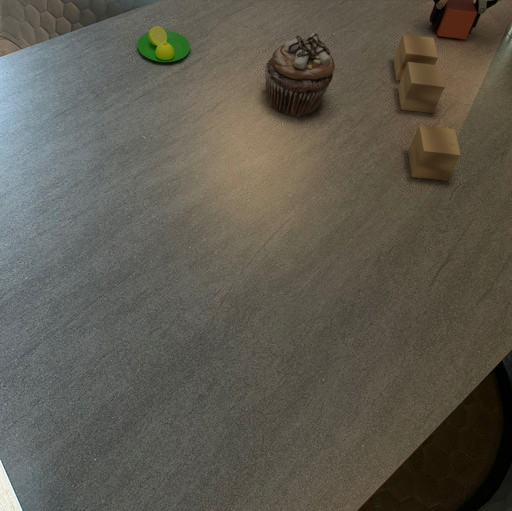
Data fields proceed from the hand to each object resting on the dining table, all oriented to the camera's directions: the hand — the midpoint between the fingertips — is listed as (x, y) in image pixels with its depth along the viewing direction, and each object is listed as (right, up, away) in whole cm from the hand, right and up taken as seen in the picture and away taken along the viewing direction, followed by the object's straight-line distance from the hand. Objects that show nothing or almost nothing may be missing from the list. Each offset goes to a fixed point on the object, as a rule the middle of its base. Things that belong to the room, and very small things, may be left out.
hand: (450, 26), depth 108 cm
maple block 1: (-9, -10, -8) cm, 15 cm away
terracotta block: (0, 0, 0) cm, 0 cm away
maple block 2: (-9, -16, -12) cm, 22 cm away
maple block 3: (-10, -27, -20) cm, 35 cm away
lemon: (-48, -8, -12) cm, 50 cm away
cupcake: (-28, -16, -15) cm, 36 cm away
